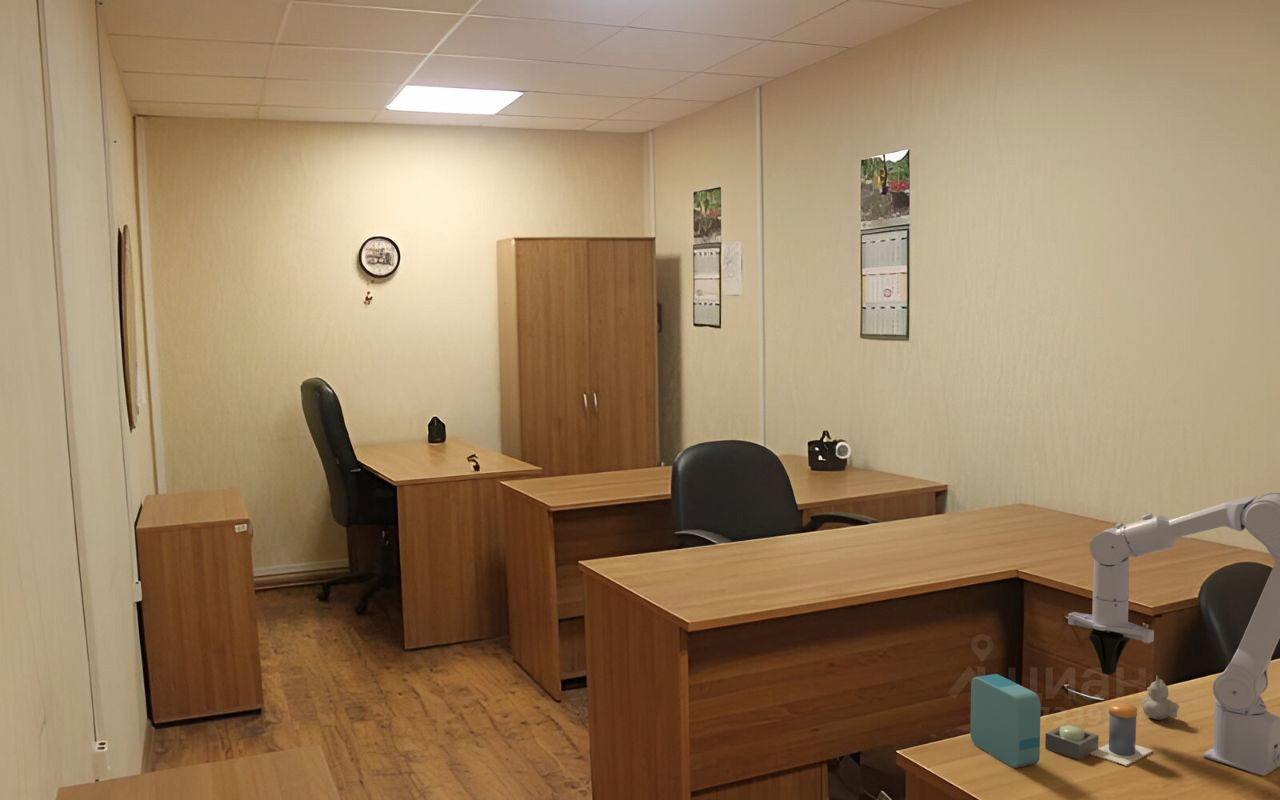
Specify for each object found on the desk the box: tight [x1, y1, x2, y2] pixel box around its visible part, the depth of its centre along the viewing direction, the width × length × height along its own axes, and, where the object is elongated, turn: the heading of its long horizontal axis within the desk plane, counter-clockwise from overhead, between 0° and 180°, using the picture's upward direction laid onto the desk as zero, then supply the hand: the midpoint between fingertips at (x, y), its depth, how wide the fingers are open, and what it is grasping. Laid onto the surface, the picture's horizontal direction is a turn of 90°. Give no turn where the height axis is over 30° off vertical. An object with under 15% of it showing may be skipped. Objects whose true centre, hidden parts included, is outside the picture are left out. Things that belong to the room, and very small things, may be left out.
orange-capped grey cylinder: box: [1108, 701, 1138, 756], centre depth 170 cm, size 4×4×8 cm
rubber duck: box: [1141, 675, 1180, 721], centre depth 184 cm, size 5×7×8 cm
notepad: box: [1089, 743, 1154, 767], centre depth 170 cm, size 6×9×1 cm, turn 127°
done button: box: [1059, 724, 1085, 742], centre depth 172 cm, size 4×4×3 cm
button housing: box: [1045, 724, 1099, 761], centre depth 172 cm, size 6×6×3 cm
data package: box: [970, 673, 1042, 769], centre depth 170 cm, size 12×4×12 cm, turn 20°
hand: (1108, 672), depth 180 cm, fingers closed
